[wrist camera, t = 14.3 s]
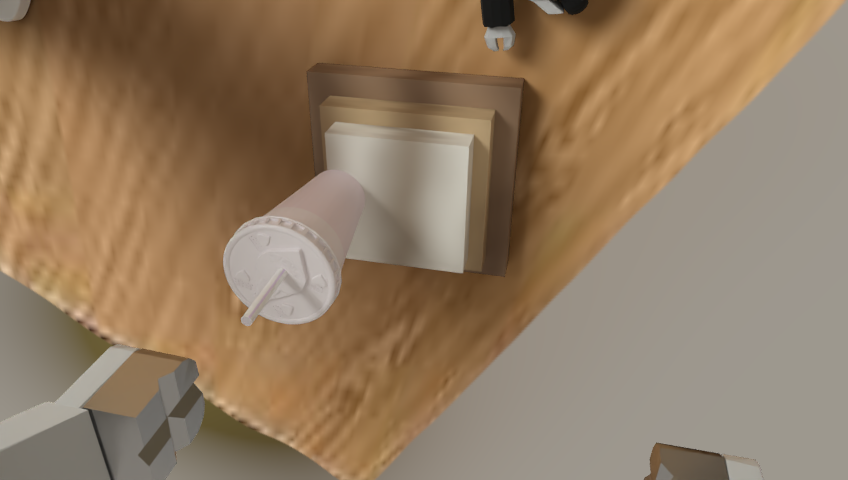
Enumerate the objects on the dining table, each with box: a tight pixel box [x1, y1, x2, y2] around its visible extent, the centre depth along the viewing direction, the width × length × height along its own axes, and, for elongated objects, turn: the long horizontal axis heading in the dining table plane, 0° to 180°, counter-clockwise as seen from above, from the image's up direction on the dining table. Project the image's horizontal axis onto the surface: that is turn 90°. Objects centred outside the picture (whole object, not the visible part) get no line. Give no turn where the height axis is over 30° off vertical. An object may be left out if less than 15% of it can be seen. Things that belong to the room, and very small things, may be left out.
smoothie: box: [223, 170, 365, 326], centre depth 37 cm, size 6×6×14 cm
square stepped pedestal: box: [307, 63, 524, 277], centre depth 45 cm, size 14×14×6 cm
